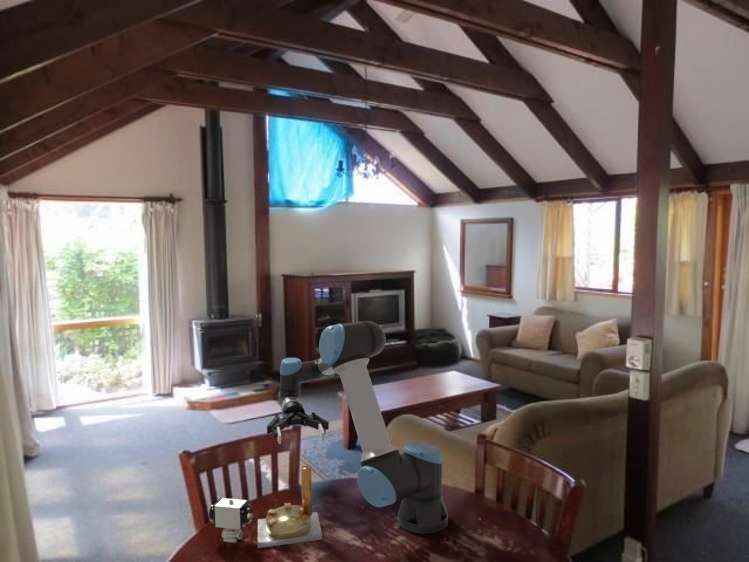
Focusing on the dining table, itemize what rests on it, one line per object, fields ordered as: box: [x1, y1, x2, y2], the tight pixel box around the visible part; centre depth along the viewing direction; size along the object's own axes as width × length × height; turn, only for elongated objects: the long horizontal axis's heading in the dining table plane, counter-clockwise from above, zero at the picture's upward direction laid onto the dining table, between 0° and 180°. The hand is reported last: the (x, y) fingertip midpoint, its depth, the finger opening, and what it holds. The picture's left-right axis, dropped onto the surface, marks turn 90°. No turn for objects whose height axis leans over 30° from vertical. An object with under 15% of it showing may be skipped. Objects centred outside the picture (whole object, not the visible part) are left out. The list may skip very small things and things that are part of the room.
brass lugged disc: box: [266, 465, 313, 538], centre depth 152 cm, size 14×13×17 cm
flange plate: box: [257, 511, 323, 549], centre depth 153 cm, size 18×13×2 cm
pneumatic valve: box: [208, 497, 255, 544], centre depth 149 cm, size 6×12×12 cm, turn 78°
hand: (301, 438), depth 163 cm, fingers open, 13 cm apart
